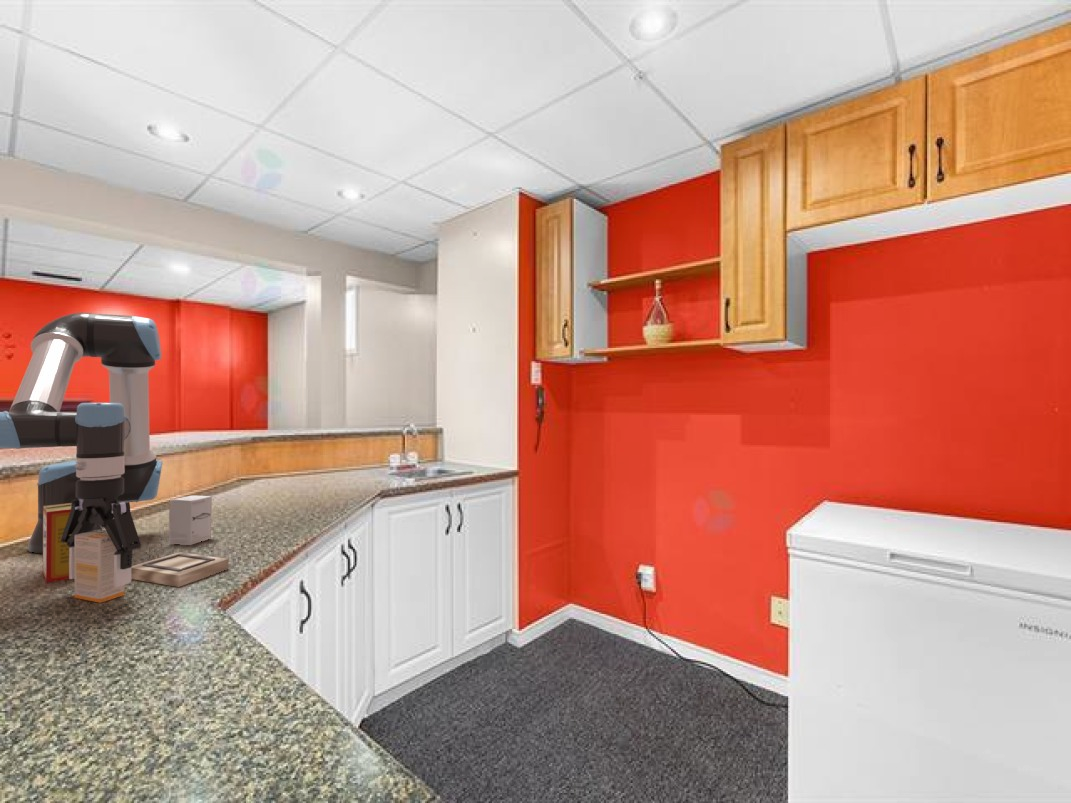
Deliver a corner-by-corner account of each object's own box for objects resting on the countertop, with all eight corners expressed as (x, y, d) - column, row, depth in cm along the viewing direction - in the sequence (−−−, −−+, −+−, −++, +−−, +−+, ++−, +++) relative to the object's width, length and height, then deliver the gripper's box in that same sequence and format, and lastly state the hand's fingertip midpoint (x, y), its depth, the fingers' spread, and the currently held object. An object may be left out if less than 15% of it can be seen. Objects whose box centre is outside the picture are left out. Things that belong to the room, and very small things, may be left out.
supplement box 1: (126, 595, 103) (126, 532, 103) (99, 603, 99) (100, 538, 99) (100, 589, 106) (100, 528, 106) (73, 598, 101) (73, 534, 101)
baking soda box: (86, 575, 115) (86, 506, 115) (46, 582, 110) (46, 510, 110) (80, 566, 121) (80, 500, 121) (42, 572, 116) (43, 504, 116)
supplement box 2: (190, 546, 138) (190, 500, 138) (167, 544, 139) (168, 499, 139) (212, 539, 145) (212, 495, 145) (191, 537, 146) (191, 494, 146)
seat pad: (127, 578, 113) (127, 566, 113) (180, 562, 124) (180, 550, 124) (178, 587, 108) (178, 574, 108) (228, 569, 119) (228, 557, 119)
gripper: (39, 477, 103) (38, 579, 102) (122, 483, 95) (121, 594, 95) (81, 472, 110) (81, 568, 110) (162, 477, 102) (162, 581, 102)
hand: (99, 580), depth 102 cm, fingers open, 13 cm apart
